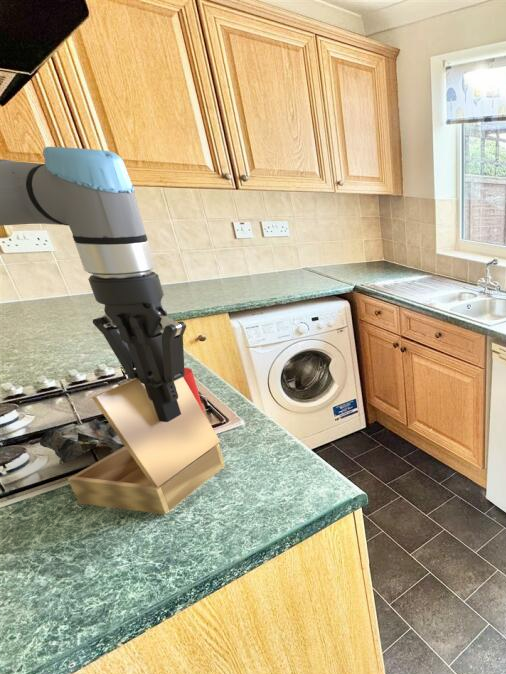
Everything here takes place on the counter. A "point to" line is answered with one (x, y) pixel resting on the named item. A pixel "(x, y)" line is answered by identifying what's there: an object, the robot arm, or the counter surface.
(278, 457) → the counter surface
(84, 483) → the chest
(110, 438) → the foil
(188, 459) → the chest lid
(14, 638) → the counter surface
